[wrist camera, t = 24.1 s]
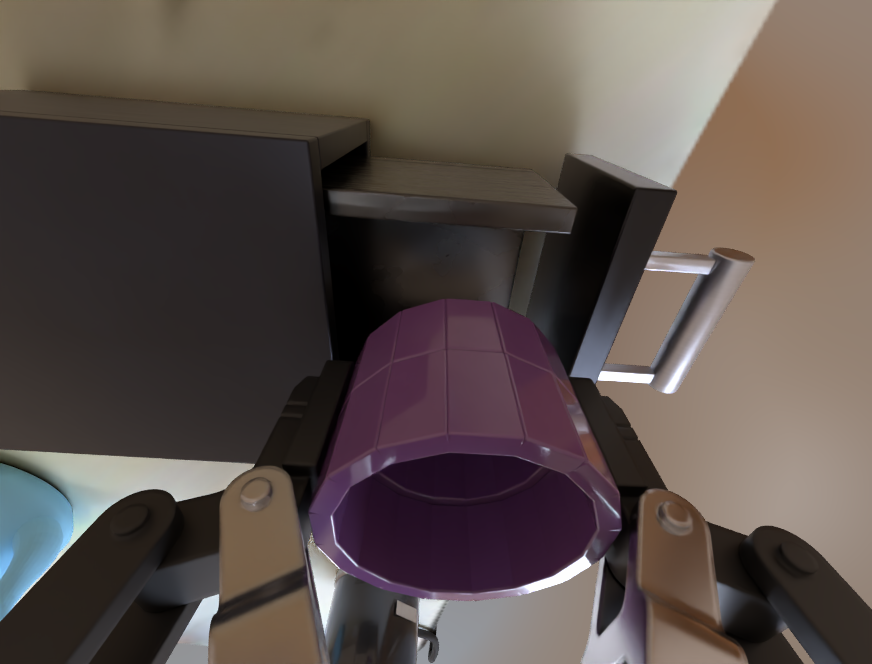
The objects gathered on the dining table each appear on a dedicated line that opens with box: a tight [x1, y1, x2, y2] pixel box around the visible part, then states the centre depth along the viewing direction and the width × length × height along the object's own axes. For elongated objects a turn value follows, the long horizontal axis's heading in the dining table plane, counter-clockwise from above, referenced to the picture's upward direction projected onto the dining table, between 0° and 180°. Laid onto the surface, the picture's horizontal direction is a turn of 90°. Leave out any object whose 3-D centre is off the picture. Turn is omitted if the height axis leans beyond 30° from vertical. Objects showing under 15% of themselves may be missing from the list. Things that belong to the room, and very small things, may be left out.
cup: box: [308, 298, 622, 601], centre depth 9 cm, size 6×6×5 cm
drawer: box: [321, 153, 755, 393], centre depth 16 cm, size 19×11×7 cm, turn 86°
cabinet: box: [0, 90, 371, 464], centre depth 15 cm, size 15×13×9 cm
